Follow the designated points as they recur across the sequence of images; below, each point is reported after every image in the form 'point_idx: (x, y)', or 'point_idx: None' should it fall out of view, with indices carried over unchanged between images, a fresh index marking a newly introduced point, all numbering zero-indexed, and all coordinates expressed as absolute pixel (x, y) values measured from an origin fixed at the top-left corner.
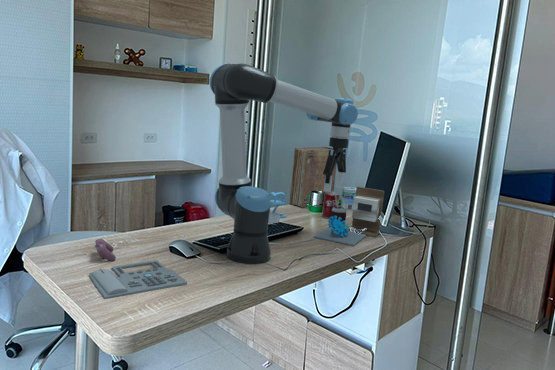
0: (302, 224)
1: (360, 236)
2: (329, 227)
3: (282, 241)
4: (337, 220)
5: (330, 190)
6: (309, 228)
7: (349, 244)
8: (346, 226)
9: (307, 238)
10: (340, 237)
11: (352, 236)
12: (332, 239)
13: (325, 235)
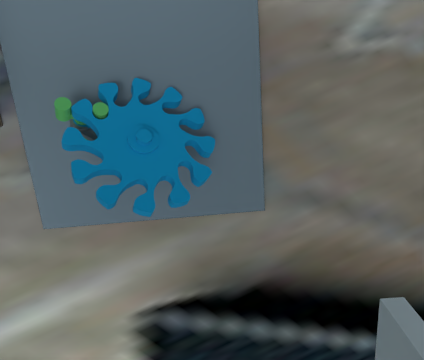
0: (97, 337)
1: (59, 16)
2: (48, 223)
3: (413, 273)
4: (122, 169)
5: (395, 310)
6: (132, 287)
7: (257, 9)
8: (88, 109)
9: (296, 221)
10: None
11: (101, 55)
12: (246, 117)
13: None
